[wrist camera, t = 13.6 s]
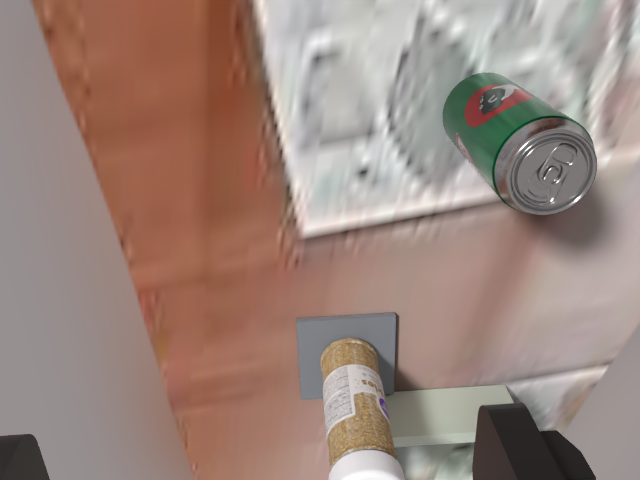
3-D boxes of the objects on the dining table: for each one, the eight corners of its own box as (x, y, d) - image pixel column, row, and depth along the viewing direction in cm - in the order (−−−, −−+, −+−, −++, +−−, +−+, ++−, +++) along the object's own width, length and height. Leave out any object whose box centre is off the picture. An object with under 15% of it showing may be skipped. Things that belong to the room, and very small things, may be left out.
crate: (504, 384, 50) (526, 428, 45) (491, 488, 55) (510, 536, 51) (359, 394, 49) (367, 439, 45) (360, 497, 55) (367, 547, 50)
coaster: (394, 312, 46) (395, 316, 45) (393, 389, 49) (394, 393, 49) (296, 318, 46) (296, 322, 45) (301, 395, 49) (301, 399, 49)
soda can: (426, 129, 40) (479, 200, 29) (465, 57, 38) (537, 104, 27) (491, 159, 41) (565, 237, 30) (532, 90, 39) (627, 147, 28)
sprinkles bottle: (388, 359, 47) (424, 503, 35) (344, 391, 48) (363, 540, 36) (351, 324, 46) (376, 462, 34) (306, 357, 47) (314, 502, 35)
